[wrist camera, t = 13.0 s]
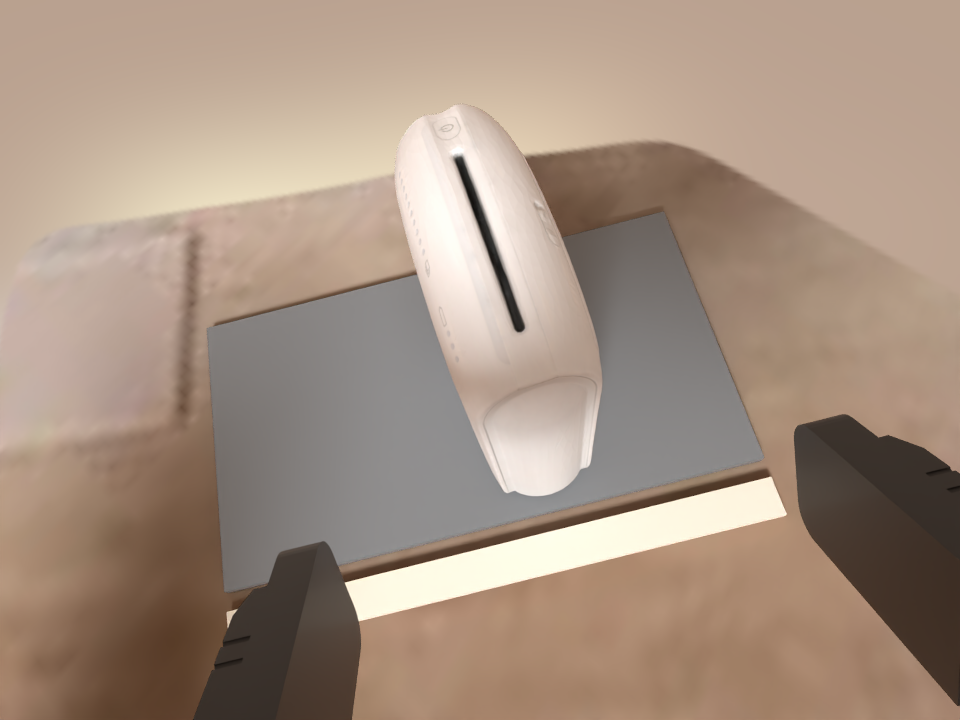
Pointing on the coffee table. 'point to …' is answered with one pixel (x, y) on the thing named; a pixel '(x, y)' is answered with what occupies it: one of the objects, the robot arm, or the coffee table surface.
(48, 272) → the coffee table surface
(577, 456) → the photo printer
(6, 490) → the coffee table surface
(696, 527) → the mat
